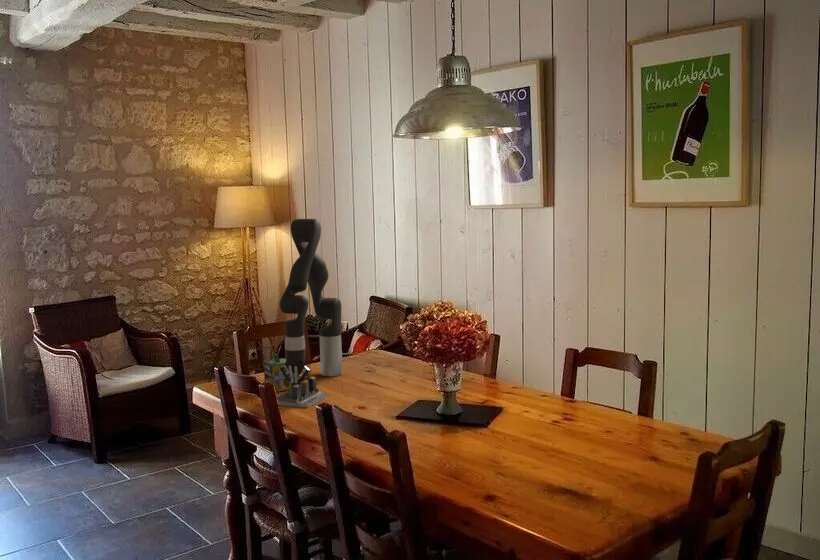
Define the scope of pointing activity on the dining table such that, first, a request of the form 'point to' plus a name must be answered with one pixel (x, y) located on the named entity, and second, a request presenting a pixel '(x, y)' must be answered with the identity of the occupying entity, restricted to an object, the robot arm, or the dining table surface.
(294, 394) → the grey pegged base plate
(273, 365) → the chalk box
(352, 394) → the dining table surface
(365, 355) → the dining table surface
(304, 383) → the breaker
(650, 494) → the dining table surface
